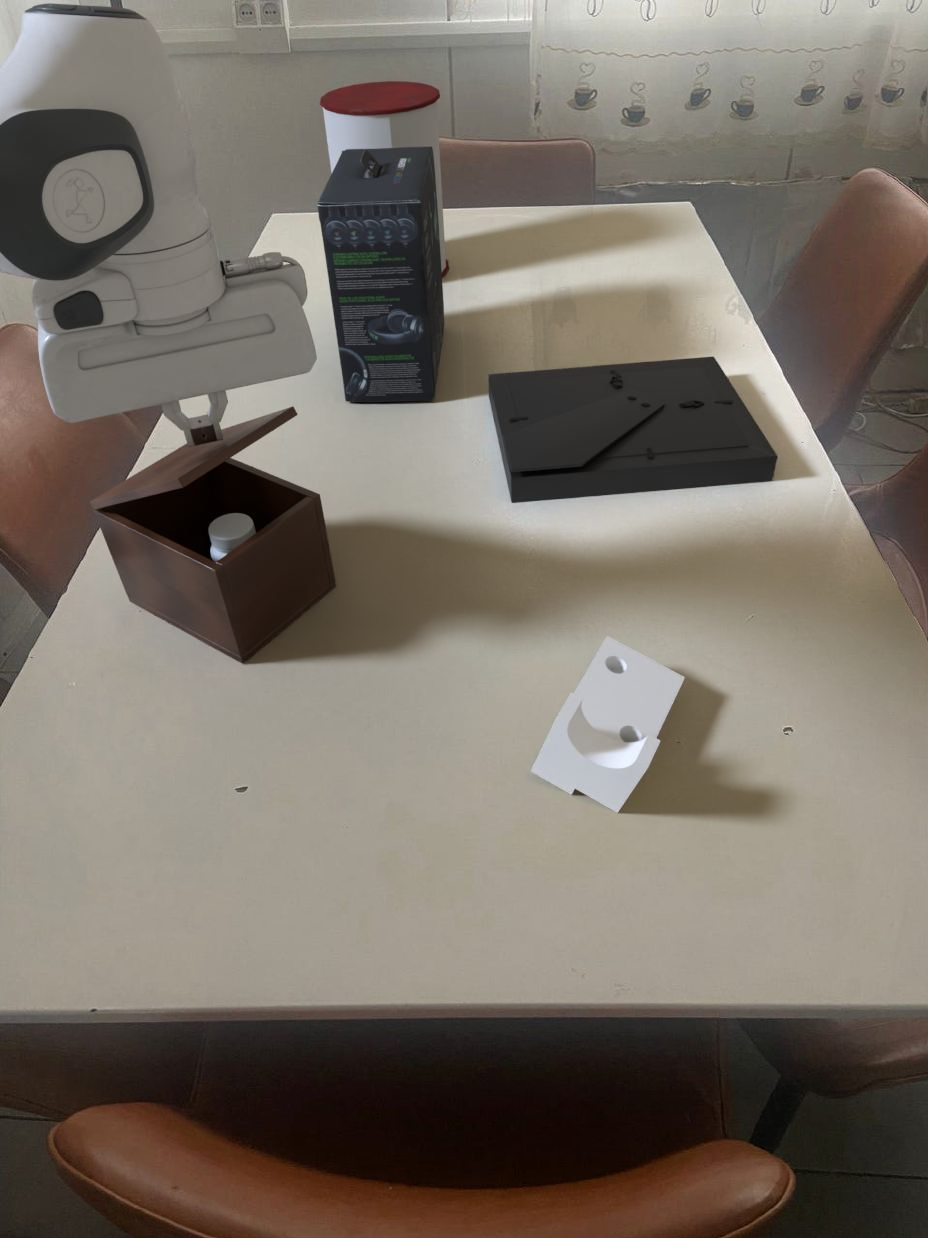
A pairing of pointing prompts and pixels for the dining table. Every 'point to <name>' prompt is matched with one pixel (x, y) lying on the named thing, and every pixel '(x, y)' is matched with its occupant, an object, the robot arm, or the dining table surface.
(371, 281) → the headset box
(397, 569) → the dining table surface
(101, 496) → the lid
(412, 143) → the container
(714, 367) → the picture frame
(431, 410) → the dining table surface
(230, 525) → the pill bottle
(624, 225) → the dining table surface
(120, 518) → the chest
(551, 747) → the bracket
